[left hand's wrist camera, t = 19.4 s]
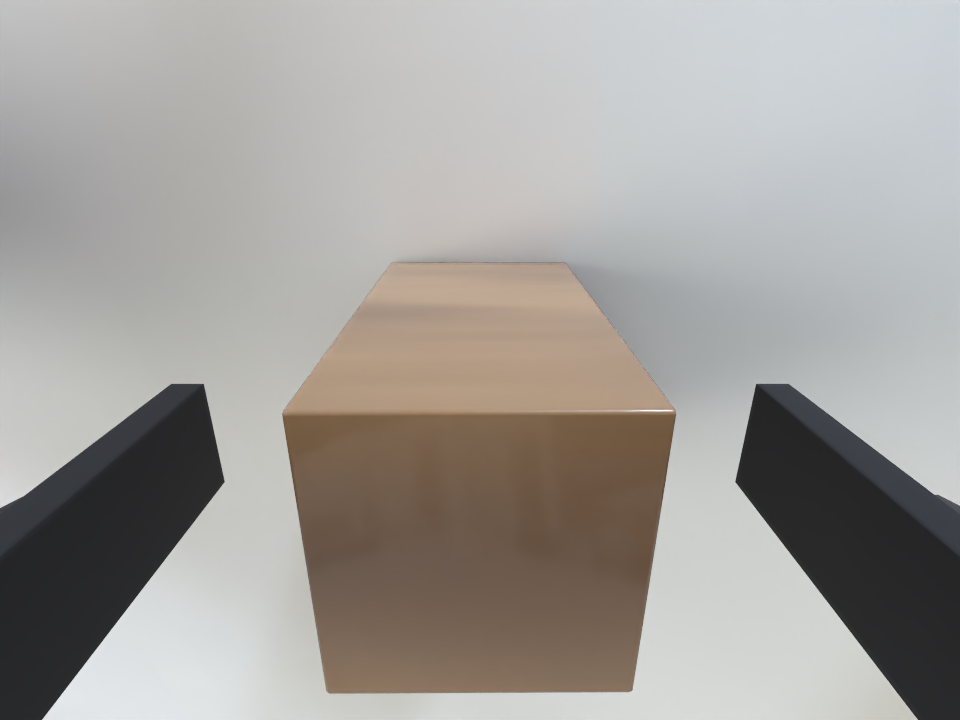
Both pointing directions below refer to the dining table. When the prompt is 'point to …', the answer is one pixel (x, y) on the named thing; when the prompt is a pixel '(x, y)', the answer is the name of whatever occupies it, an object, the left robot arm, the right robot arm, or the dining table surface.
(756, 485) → the left robot arm
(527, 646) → the block
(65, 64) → the dining table surface
